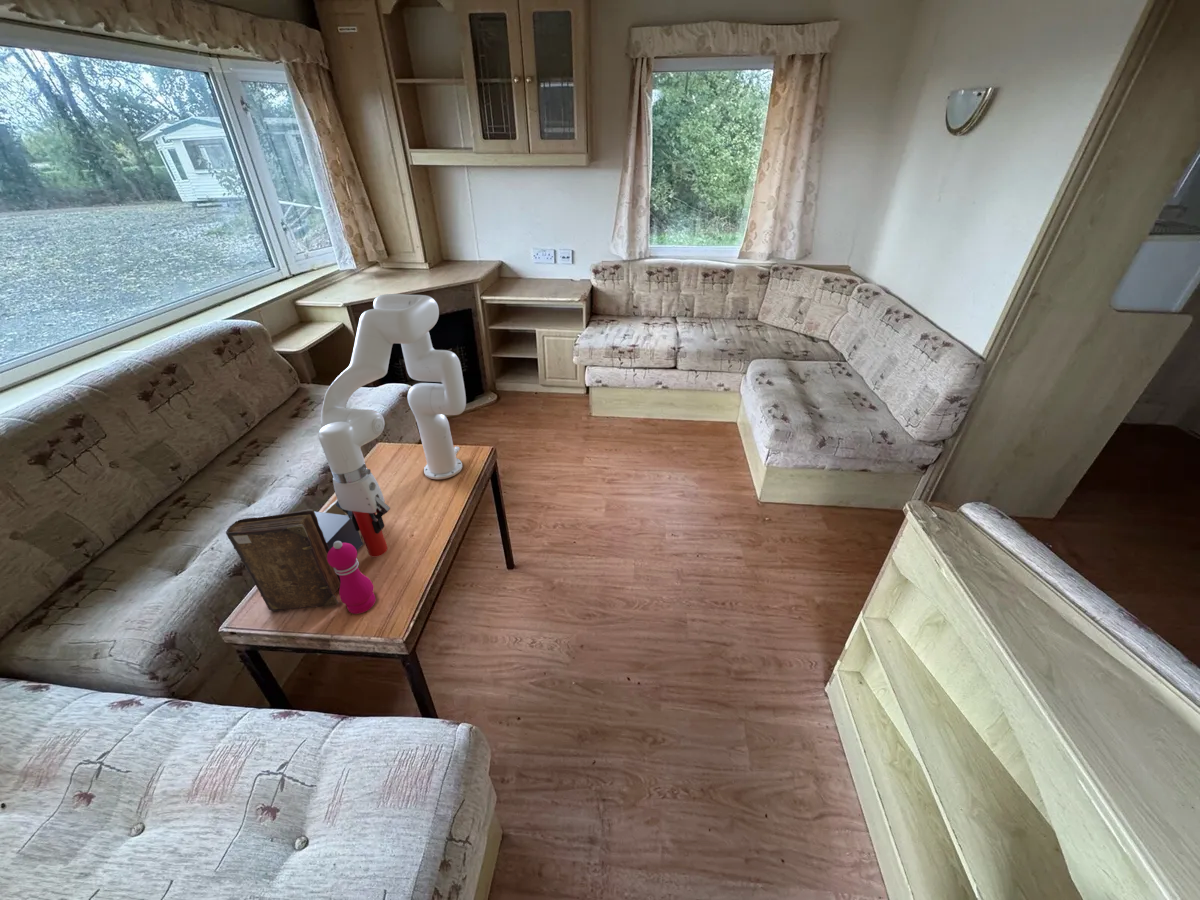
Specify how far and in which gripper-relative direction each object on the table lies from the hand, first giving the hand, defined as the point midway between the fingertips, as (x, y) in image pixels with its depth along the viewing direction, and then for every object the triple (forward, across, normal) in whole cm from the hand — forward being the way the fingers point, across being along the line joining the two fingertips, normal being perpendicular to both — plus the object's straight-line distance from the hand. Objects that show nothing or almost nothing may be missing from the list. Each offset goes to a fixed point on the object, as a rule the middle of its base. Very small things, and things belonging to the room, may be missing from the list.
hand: (370, 528), depth 125 cm
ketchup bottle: (+8, 0, 0) cm, 8 cm away
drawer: (+8, +13, -8) cm, 17 cm away
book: (+9, +8, +17) cm, 21 cm away
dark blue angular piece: (+9, +12, +5) cm, 16 cm away
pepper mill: (+9, -6, +16) cm, 19 cm away
